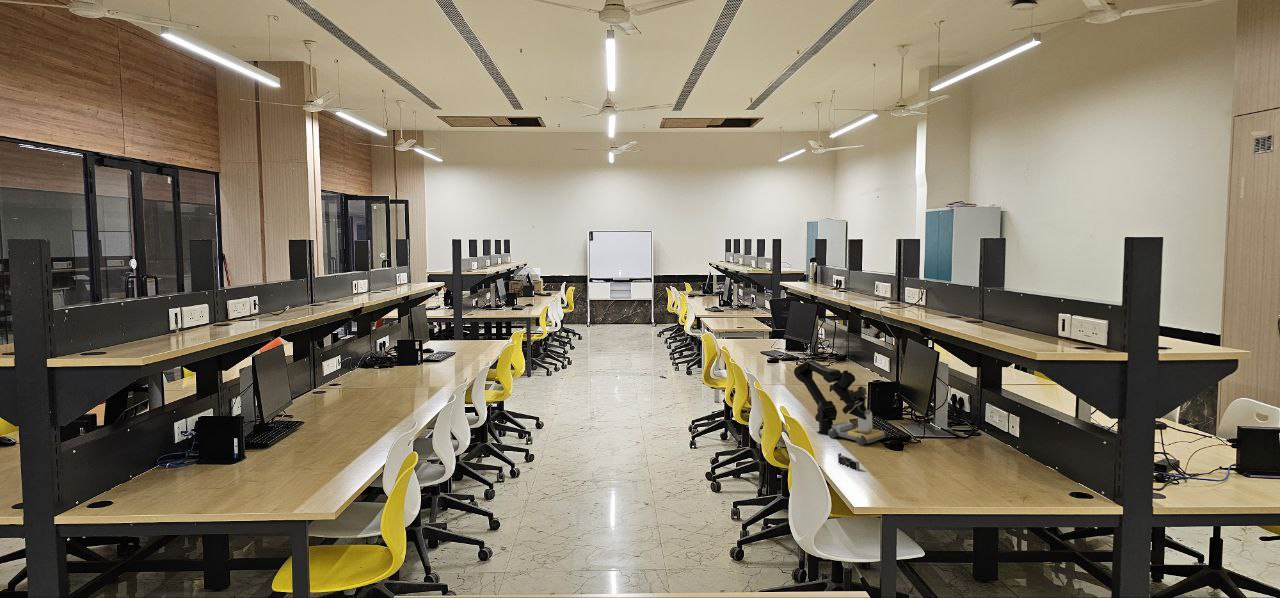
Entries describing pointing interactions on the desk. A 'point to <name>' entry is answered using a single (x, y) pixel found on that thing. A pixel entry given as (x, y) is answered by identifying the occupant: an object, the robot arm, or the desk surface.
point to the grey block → (865, 422)
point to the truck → (855, 433)
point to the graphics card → (848, 462)
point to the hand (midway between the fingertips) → (867, 418)
